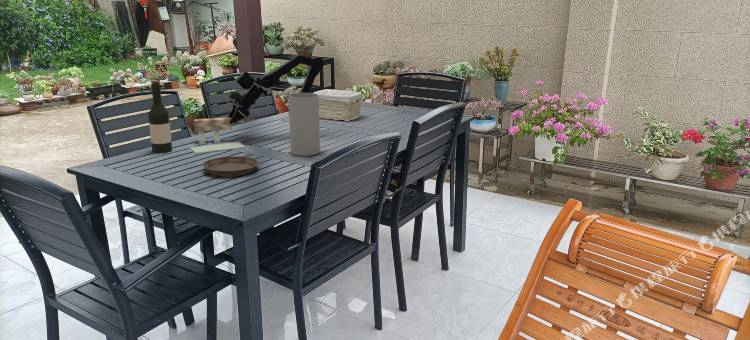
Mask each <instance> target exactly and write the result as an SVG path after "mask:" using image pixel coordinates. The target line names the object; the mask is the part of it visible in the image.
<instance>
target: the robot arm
mask: <svg viewBox="0 0 750 340" xmlns="http://www.w3.org/2000/svg"><path fill="white" fill-rule="evenodd" d="M324 64H325V63H324V59H323V58H321V57H320V56H315V55H313V56H306V55H301V54H295V55H294V56H293V57H292V58H290V59H289V60H288V61H286V62H285V63H283V64H281V65H279V66H278V67H277V68H276V69H274V70H272V71H269V72H266V73H264V74H262V75H260V77H259V76H258V77H252V76H251V75H250V74H249V73H248V71H246V70H244V72H242V73H240V75H238V76H237V77H236V79H235V80H234V81H235V82H236V84H238V85H239V86H240V87H241V88H242V89H243V90H247V92H246V93H243V94H241V93H240V92H238V91H234V90H230V91H229V93H228V96H227V97H228V98H229V99H230V100H233V101H232V104H231V105H232V106H231V107H232V109H231V110H230V112H229V114H228V115H227V117H226V118H229V117H230V118H231V120H230V121H229V123H230V124H231V125H232V124H234V123H237V122H238V121H241V120H244V119H246V118H248V117H249V116H250V115H251V112H250V108H252V107H253V105H255V104H256V102H257V101H258V100H259V99H260V98H261V97H262V96H263V95H264V96H265V97H268V90H267V89H270V88H272V87H273V86H274V85H275V84H276V83H277V81H278V80H279V79H280V78H281V77H283V76H284V75H286V74H288V73H290V72H291V71H292V70H293V69H295V68H296V67H297V66H299V65H305V66H307V73H306V76H305V78H304V81H303V83H302V86H301V88H300V91H299V93H311V90H312V87H313V84H314V83H315V80H316V77H317V76H318V75H319V74H320V72H321V71H322V69H323V68H324ZM257 85H258V86H257ZM264 88H265V89H264ZM287 110H288V112H289V108H288V109H287Z"/></svg>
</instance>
